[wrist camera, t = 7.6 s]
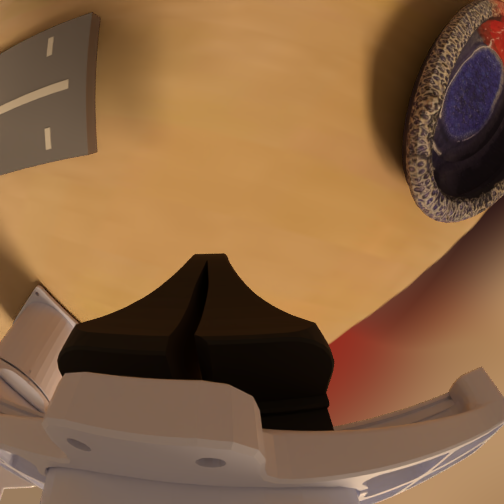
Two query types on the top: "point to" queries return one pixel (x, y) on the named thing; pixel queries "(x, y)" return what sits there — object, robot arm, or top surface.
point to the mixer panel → (49, 96)
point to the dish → (459, 117)
